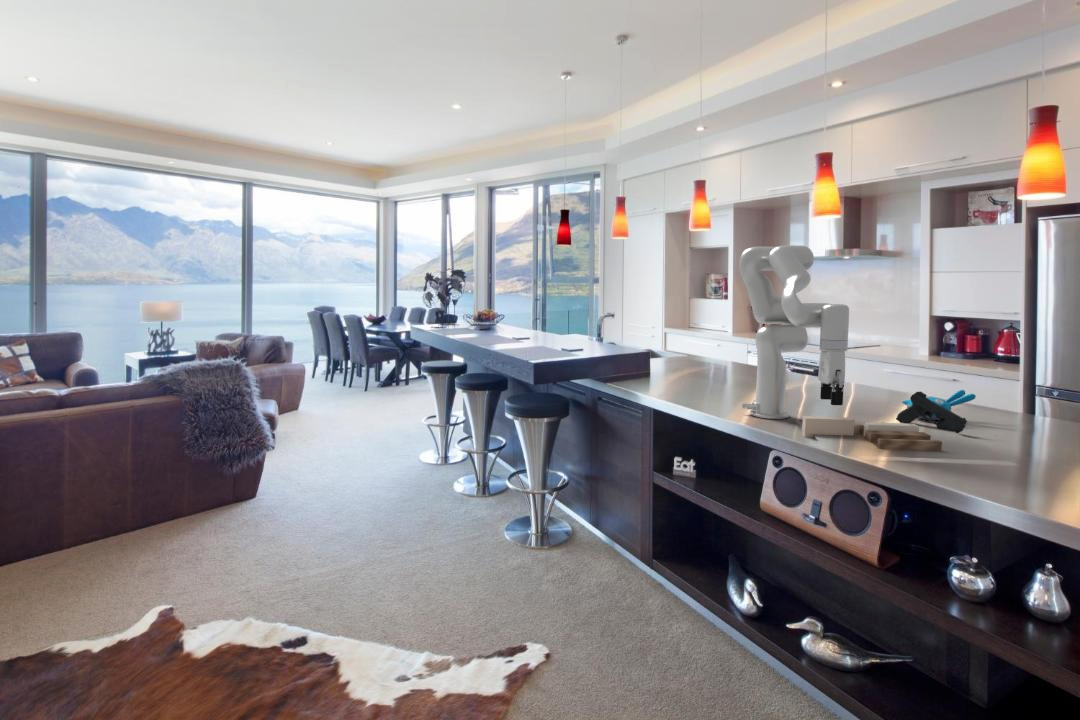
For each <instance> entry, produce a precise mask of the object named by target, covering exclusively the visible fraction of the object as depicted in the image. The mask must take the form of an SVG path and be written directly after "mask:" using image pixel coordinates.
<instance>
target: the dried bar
mask: <svg viewBox="0 0 1080 720" xmlns="http://www.w3.org/2000/svg"><path fill="white" fill-rule="evenodd" d="M863 425H864V434H863V435H864V436H865V431H866V430H869V431H901V432H920V425H917V424H916V423H909V424H906V423H900V422H899V423H897V422H895V423H894V422H870V421H869V422H868V421H867V422H865V421H864V424H863Z"/></svg>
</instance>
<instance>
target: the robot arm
mask: <svg viewBox="0 0 1080 720" xmlns="http://www.w3.org/2000/svg"><path fill="white" fill-rule="evenodd" d="M740 255H741V256H740V259H739V265H738V266H739V272H740V273H739V274H740V276H741V279H742V280H743V283H744V285H745V287H746V290H747V293H748V297H749V301H750V306H751V309H752V314H753V317H754V319H755V321H756V322H757V323H759V324H763V325H764V324H765V325H766V326H763V327H761V328H759V329H758V330H757V332H756V334H755V346H756V347H755V348H756V354H757V357H756V358H757V361H756V362H757V365H756V366H757V367H756V368H757V369H756V384H755V385H756V387H755V389H756V390H755V400H753V401H752V402H750V403H747V402H741V405H740V407H741V409H742V410H743V409H746V410H750V415H751V416H754V417H756V418H760V419H768V420H770V419H771V420H783V419H787V418H789V415H790V414H789V412H788V411H786V410H785V406H786V405H785V403H786V384H787V363H786V361H785V359H784V357H783V355H782V354H784V353H798V352H802V351H804V350H806V349H805V348H806V347H807V346H808V342H809V341H808V340H809V339H808V333H807V332H808V331H807V329H808V328H809V329H810V328H815V329H816V328H820V331H819V332H820V334H819V336H820V337H819V351H820V356H819V363H818V372H817V373H818V376H817V379H818V381H819V382H820V393H819V394H820V395H819V397H820V399H821V400H828V401H829V400H830V405H831V406H843V404H844V392H845V391H844V390H845V389H844V387H845V380H846V354H845V353H846V352H848V350H849V349H848V347H849V323H850V307H849V306H848V305H847V304H840V303H838V304H837V303H836V304H835V303H834V304H833V303H828V302H826V303H824V302H819V303H818V302H810V303H809V302H805V303H804V302H801V300H800V298H799V297H798V295H797V293H798V294H799V292H802V291H803V290H804V289H806V288H807V287H808V286H809V284H810V282H811V280H812V279H811V274H810V273H809V271H808V270H810V269H811V268H812V266H813V264H814V261H815V257H814V253H813V251H812V249H811V248H809V247H808V246H806V245H799V244H798V245H796V244H795V245H792V244H791V245H787V244H786V245H785V244H784V245H779V246H778V245H777V246H766V245H765V246H752V247H749V248H748V247H747V248H746V249H745V250H744V251H743V252H742V253H741V254H740ZM763 271H764V272H767V271H768V272H769V271H770V272H774V273H775V275H776V277H777V278H778V281H780V283H781V285H782V286H783V290H782V292H781V296H777V294H776V293H775V289H774V286H773V283H772V281H771V280H770V279H769V277H767V275H765V274H764V273H763Z"/></svg>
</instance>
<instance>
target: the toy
mask: <svg viewBox="0 0 1080 720" xmlns="http://www.w3.org/2000/svg"><path fill="white" fill-rule="evenodd" d="M976 395H977V394H974V393H969V394H966V391H965V390H964V389H960V390H958V391H956V392H955V393H953V394H952V395H951V396H949V398H947V399H946V400H944V399H943V398H938V397H934V396H926V398H928V399H930V400H931V401H933V402H935V403H937V404H939V405H940V406H942V407H944V408H946V409H948V410H949V411H951V412H952V407H954V406H958V405H962V404H964V403H968V402H971V401H973V400H975V399H976ZM901 403H902V404H903V405H905V406H906V409H907V408H908V407H910V406H912V402H911V400H910V399H907V400H902V401H901ZM925 416H926V418H928V419H930V420H932V421H938V420H939V421H940V419H939V418H937V417H936V416H935V414H933V415H932V417H931V418H930V417H928V416H927V415H925ZM918 418H919V419H922V418H923V417H918ZM918 418H917V419H918ZM922 420H926V419H925V418H923V419H922Z"/></svg>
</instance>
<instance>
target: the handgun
mask: <svg viewBox="0 0 1080 720" xmlns="http://www.w3.org/2000/svg"><path fill="white" fill-rule="evenodd" d="M926 397H928V396H927V394H926V393H924V392H923V391H915V392H914V393H913V394H912V395H911V396H910V398H909V400H911V402H912V406H910V407H908V408H907V407H906V408H905V409H903V410H902V411H899V413H897V416H896V420H897V422H899V423H904V424H912V423H913V421H915V420H917V419H918V417H923V418H925V419H924V420H927V421H928V422H930V423H932V424H934V425H936V427H937V428H938V429H942V430H945V431H951V432H953V433H956V434H959V433H961V432H963V431H964V429H965V428H966V424H967V421H968V420H967V418H966V417H962V416H960V415H958V414H957V413H955V412H952V410H951V411H949V410H948V409H946V408H944V407H942V406H940V405H939V404H937V403H935V402H933V401H931V400H930V399H928V398H926ZM933 414H935V416H936V417H937V418H939V421H938V422H935V420H930V419H928V418H926V416H925V415H927V416H928V417H930V418H931V417H932V415H933Z"/></svg>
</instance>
